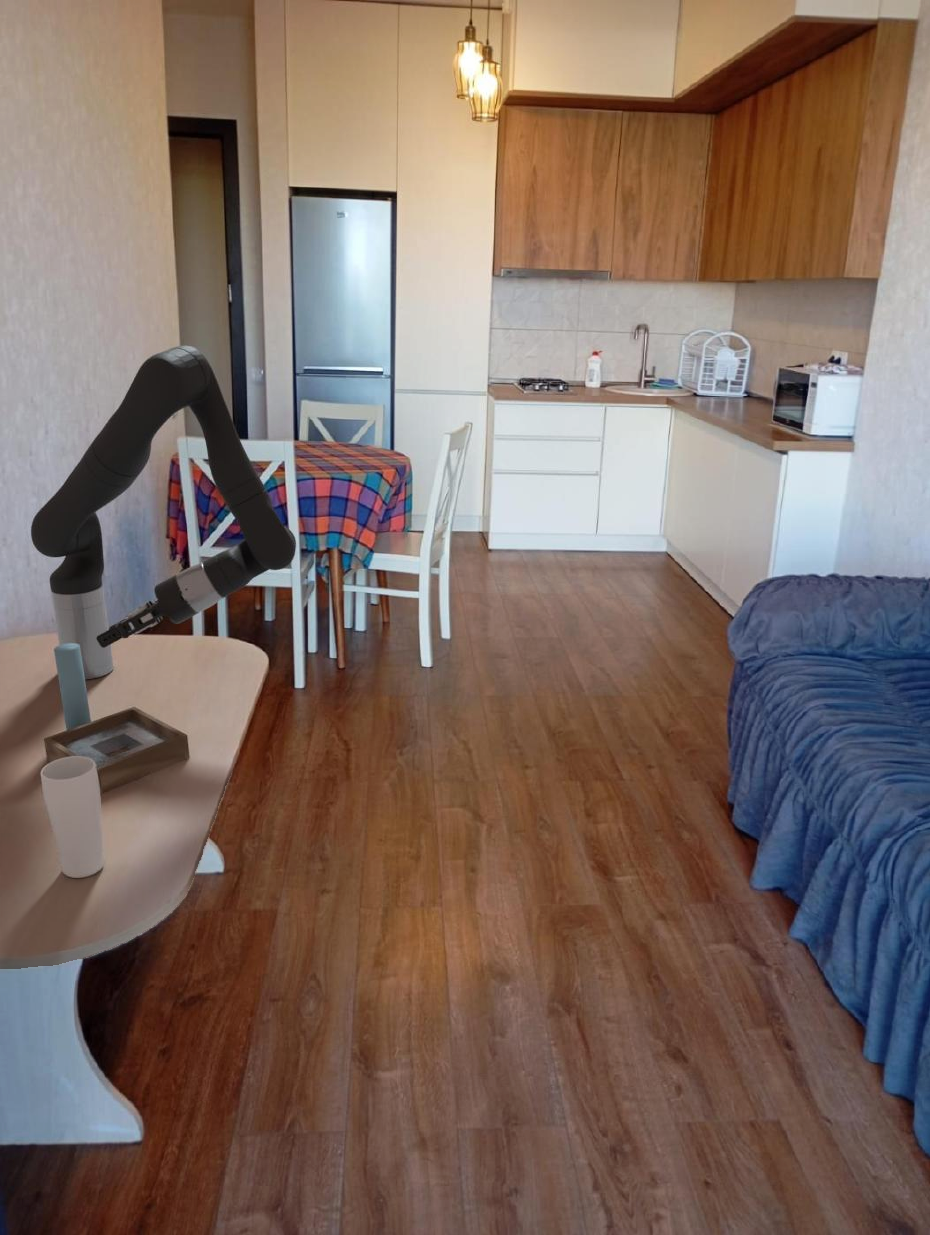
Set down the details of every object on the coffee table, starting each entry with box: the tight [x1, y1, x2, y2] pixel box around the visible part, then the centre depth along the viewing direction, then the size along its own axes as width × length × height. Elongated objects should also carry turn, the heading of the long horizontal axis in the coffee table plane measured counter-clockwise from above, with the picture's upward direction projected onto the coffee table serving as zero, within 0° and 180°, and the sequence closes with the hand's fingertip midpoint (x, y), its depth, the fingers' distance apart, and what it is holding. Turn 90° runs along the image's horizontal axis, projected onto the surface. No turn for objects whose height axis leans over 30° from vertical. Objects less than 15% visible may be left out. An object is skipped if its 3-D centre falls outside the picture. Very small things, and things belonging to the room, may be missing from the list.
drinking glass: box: [40, 756, 105, 879], centre depth 130 cm, size 7×7×15 cm
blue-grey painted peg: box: [53, 643, 92, 731], centre depth 166 cm, size 4×4×16 cm
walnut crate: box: [43, 706, 190, 795], centre depth 160 cm, size 16×16×4 cm
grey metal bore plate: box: [61, 718, 172, 767], centre depth 161 cm, size 14×14×2 cm
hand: (105, 637), depth 170 cm, fingers open, 8 cm apart
